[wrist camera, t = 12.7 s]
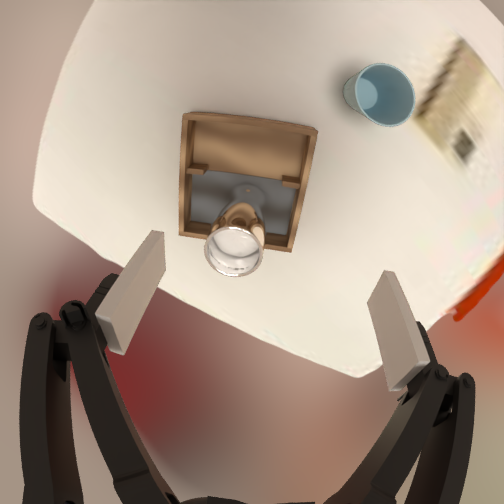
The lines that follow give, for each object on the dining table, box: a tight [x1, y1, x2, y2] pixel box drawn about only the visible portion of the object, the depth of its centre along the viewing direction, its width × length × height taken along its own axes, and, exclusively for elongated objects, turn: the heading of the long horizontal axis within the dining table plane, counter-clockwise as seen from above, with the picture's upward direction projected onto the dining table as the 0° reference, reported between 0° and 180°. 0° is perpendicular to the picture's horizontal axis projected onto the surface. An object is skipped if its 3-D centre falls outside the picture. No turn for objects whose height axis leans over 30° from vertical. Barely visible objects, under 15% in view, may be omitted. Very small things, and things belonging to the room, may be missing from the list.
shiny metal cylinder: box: [204, 184, 266, 277], centre depth 36 cm, size 7×7×15 cm
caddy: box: [179, 112, 318, 253], centre depth 39 cm, size 19×18×4 cm
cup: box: [343, 63, 415, 127], centre depth 28 cm, size 8×8×10 cm
